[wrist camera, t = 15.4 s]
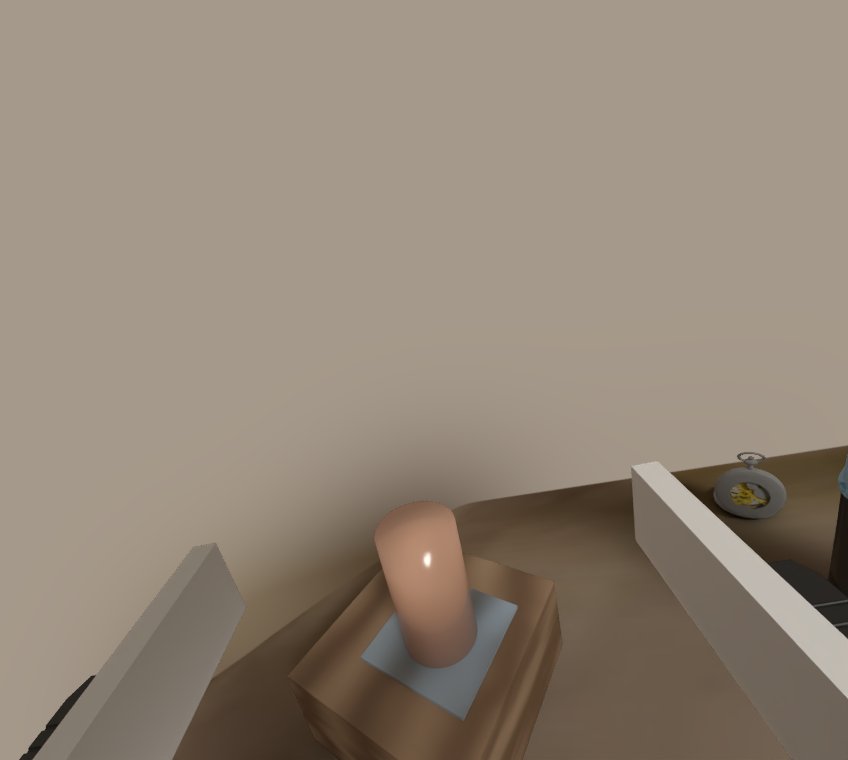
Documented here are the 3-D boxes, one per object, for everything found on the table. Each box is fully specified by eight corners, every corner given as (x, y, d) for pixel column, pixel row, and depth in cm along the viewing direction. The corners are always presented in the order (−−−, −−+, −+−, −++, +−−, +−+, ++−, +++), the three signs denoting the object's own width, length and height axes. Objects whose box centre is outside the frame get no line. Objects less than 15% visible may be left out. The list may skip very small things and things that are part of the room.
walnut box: (562, 643, 40) (553, 579, 37) (481, 879, 26) (459, 803, 24) (424, 587, 50) (409, 533, 47) (313, 737, 36) (285, 673, 34)
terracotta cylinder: (490, 614, 35) (469, 510, 32) (453, 683, 30) (425, 569, 27) (430, 590, 39) (406, 495, 35) (389, 647, 34) (357, 543, 31)
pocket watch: (750, 485, 55) (753, 419, 52) (807, 525, 47) (816, 451, 44) (690, 496, 55) (690, 432, 52) (736, 538, 47) (740, 465, 44)
